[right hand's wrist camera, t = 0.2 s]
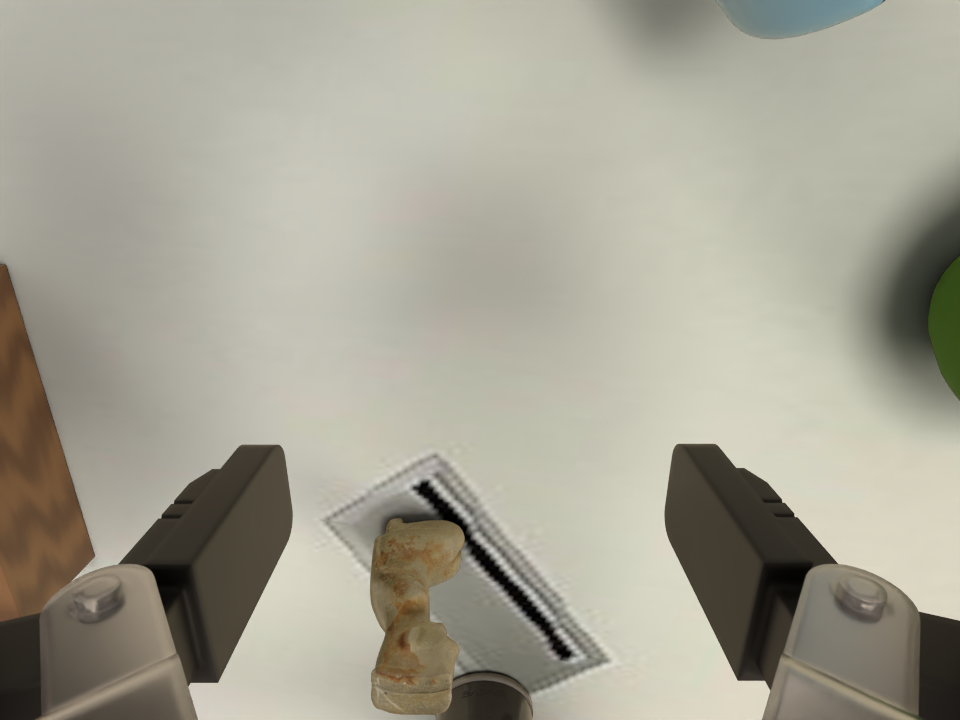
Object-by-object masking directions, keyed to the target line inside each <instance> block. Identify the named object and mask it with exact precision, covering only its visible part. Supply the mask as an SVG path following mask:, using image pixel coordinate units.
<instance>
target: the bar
mask: <svg viewBox="0 0 960 720" xmlns="http://www.w3.org/2000/svg"><path fill="white" fill-rule="evenodd" d="M94 557H95V556H94V553H93V549H92V546H91V543H90V539H89V536H88V533H87V530H86V526H85V523H84V520H83V516H82V513H81V510H80V507H79V503H78V500H77V497H76V494H75V490H74V487H73V484H72V480H71V477H70V474H69V471H68V467H67V464H66V461H65V457H64V454H63V451H62V448H61V444H60V441H59V438H58V434H57V431H56V428H55V425H54V421H53V418H52V415H51V411H50V408H49V405H48V402H47V398H46V395H45V392H44V388H43V385H42V382H41V379H40V375H39V372H38V369H37V365H36V362H35V359H34V356H33V352H32V349H31V346H30V343H29V339H28V336H27V333H26V329H25V326H24V323H23V320H22V316H21V313H20V310H19V306H18V303H17V300H16V297H15V293H14V290H13V287H12V283H11V280H10V277H9V274H8V270H7V267H6V265H0V622H1V621H6V620H10V619H15V618H19V617H24V616H28V615H33V614H37V613H41V612H42V610H43V608H44V606H45V605H46V603H47V602H48V601H49V600H50V599H51V597H52V596H53V595H54V594H56V593H57V592H58V591H59V590H60V589H62V588H63V587H64V586H66V585H67V584H69V583H70V582H71V581H72V580H73V579H74V578H75V577H76V576H77V575H78V574H79V573H80V572H81V571H82V570H83V569H84V567H85V566H86V565H87V564H88V563H89V562H90V561H91V560H92V559H93V558H94Z"/></svg>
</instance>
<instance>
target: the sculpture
mask: <svg viewBox="0 0 960 720" xmlns="http://www.w3.org/2000/svg"><path fill="white" fill-rule="evenodd" d="M464 540H465V537H464V534H463V531H462V529H461V528H460V527H459V526H458V525H456V524H454V523H452V522H449V521H445V520H428V521H420V522H414V523H403V520H402V519H400V518H395V519H391V520H390V521H389V522H388V524H387V526H386V532H385V534H384V535H381V536H379V537H377V538H376V539H375V542H374V549H373V556H372V567H371V578H370V596H371V604H372V608H373V611H374V613H375V616H376V618H377V620H378V622H379V624H380V626H381V628H382V629H383V630H384V632H385V638H384V641H383V644H382V646H381V649H380V652H379V655H378V658H377V662H376V667H375V669H374V670H373V671H372V673H371V682H372V691H371V699H372V702H373V704H374V706H375V707H376V708H377V709H381V710H384V711H387V712H389V713H394V714H401V715H406V714H426V715H434V714H439V713H443V712H445V711H446V710H447V709H448V707H449V705H450V703H451V699H452V693H451V688H452V681H453V675H454V665H455V661H456V659H457V657H458V654H459V651H460V649H459V646H458V644H457V643H456V642H455V641H453V640H452V639H451V638H449V637H448V636H447V632H446V628H445V626H444V625H443V624H442V623H432V622H430V611H429V588H430V587H432V586H434V585H437V584H439V583H441V582H444V581H446V580H448V579H450V578H451V577H452V576H454V575H455V573H456V572H457V571H458V569H459V567H460V563H461V559H462V558H461V551H460V549H461V548H462V547H463V546H464Z"/></svg>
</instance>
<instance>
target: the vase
mask: <svg viewBox="0 0 960 720" xmlns="http://www.w3.org/2000/svg"><path fill="white" fill-rule="evenodd" d="M928 334H929V337H930V340H931V344H932V347H933V350H934V353H935V356H936V359H937V362H938V365H939V368H940V371H941V374H942V376H943V377H944V379H945V381H946V382H947V384H948V386H949V387H950V389H951V390H952V391H953V393H954V394H955V395H956V397H957V398H958V399H959V400H960V255H959V256H958V257H957V258H956V259H955V260H954V261H953V262H952V263H951V264H950V265H949V267H948V268H947V269H946V270H945V272H944V273H943V274H942V276H941V277H940V279H939V281H938V283H937V284H936V286H935V289H934V292H933V294H932V297H931V302H930V308H929V314H928Z"/></svg>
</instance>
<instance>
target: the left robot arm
mask: <svg viewBox="0 0 960 720" xmlns="http://www.w3.org/2000/svg"><path fill="white" fill-rule="evenodd" d="M716 1H717V3H718V4H719V5H720V7H721V8H722V10H723V11H724V13H725V14H726V16H727V17H728V19H729V20H730V21H731V22H732V23H733V24H734V25H735V26H736V27H737V28H738V29H739V30H741V31H742V32H744V33H746V34H748V35H750V36H754V37H758V38H763V39H782V38H791V37H796V36H801V35H805V34H808V33H812V32H816V31H819V30H822V29H825V28H828V27H831V26H834V25H837V24H839V23H842V22H844V21H847V20H849V19H852V18H854V17H856V16H859V15H861V14H863V13H865V12H868V11H869V10H871V9H873V8H875V7H876V6H878V5H880V4H881V3H883V2H884V1H885V0H716Z"/></svg>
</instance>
